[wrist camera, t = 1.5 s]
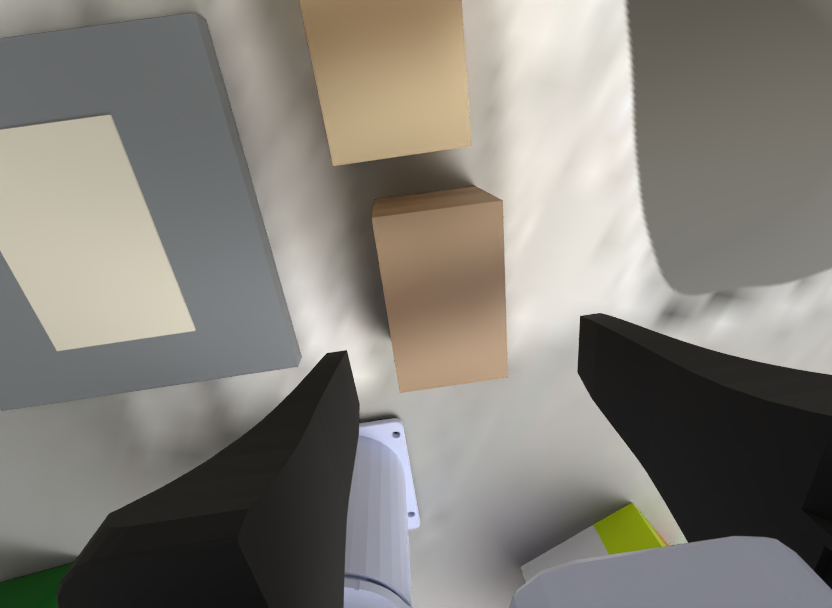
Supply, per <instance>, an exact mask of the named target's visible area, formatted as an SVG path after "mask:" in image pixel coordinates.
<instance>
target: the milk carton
mask: <svg viewBox="0 0 832 608" xmlns="http://www.w3.org/2000/svg"><path fill="white" fill-rule="evenodd" d="M72 564H73V563H71V564H67V565H63V566H60V567H56V568H52V569H49V570H45V571H42V572H38V573H34V574H31V575H27V576H23V577H20V578H16V579H12V580H9V581H5V582H2V583H0V608H58V603H57V596H56V592H57V589H58V587H59V584H60V581H61V579H62V578H63V577H64V575H65V574H66V572H67V571H68V570H69V568H70V567H71V566H72Z"/></svg>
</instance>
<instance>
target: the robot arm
mask: <svg viewBox="0 0 832 608" xmlns="http://www.w3.org/2000/svg"><path fill="white" fill-rule="evenodd" d="M578 374H579V376H580V378H581V380H582V381H583V383H584V385H585V387H586V389H587V391H588V392H589V394H590V396H591V398H592V399H593V401H594V402H595V403H596V405H597V406H598V407H599V409H600V410H601V411H602V413H603V414H604V415H605V417H606V418H607V419H608V421H609V422H610V423H611V425H612V426H613V427H614V429H615V430H616V431H617V433H618V434H619V435H620V436H621V438H622V439H623V440H624V442H625V443H626V444H627V446H628V447H629V448H630V450H631V451H632V452H633V453H634V455H635V456H636V457H637V459H638V460H639V462H640V463H641V465H642V466H643V467H644V469H645V470H646V472H647V473H648V475H649V477H650V478H651V480H652V482H653V483H654V485H655V486H656V488H657V490H658V491H659V493H660V495H661V496H662V498H663V500H664V501H665V503H666V505H667V506H668V508H669V510H670V512H671V513H672V515H673V517H674V519H675V520H676V522H677V524H678V526H679V527H680V529H681V531H682V532H683V534H684V536H685V538H686V540H687V541H688V543H685V544H678V545H671V546H665V547H658V548H652V549H645V550H638V551H632V552H625V553H619V554H612V555H605V556H599V557H592V558H586V559H579V560H573V561H570V562H567V563H564V564H561V565H558V566H555V567H551V568H548V569H545V570H542V571H540V572H539V573H538V574H536V575H535V576H534V577H533V578H531V579H530V580H529V581H527V582H526V583H525V584H524V585H522V586H521V587H520V588H518V589H517V591H516V592H515V594H514V596H513V598H512V601H511V604H510V606H509V608H832V375H828V374H822V373H815V372H809V371H803V370H797V369H792V368H787V367H781V366H776V365H771V364H766V363H761V362H756V361H752V360H748V359H744V358H740V357H736V356H732V355H728V354H724V353H720V352H716V351H713V350H709V349H706V348H703V347H699V346H696V345H693V344H690V343H687V342H683V341H680V340H678V339H675V338H672V337H669V336H666V335H663V334H660V333H657V332H655V331H652V330H649V329H646V328H644V327H641V326H638V325H635V324H633V323H630V322H627V321H624V320H621V319H618V318H616V317H612V316H609V315H606V314H601V313H598V314H591V315H584V316H580V332H579V353H578ZM395 431H396V432H399V433H397V434H394V433H393V432H395ZM419 525H420V517H419V511H418V506H417V500H416V495H415V489H414V483H413V478H412V472H411V467H410V461H409V455H408V450H407V444H406V439H405V433H404V427H403V423H402V421H401V420H400V419H397V418H392V419H385V420H379V421H372V422H366V423H359V400H358V396H357V392H356V387H355V383H354V379H353V375H352V370H351V366H350V362H349V357H348V353H347V350H345V351H339V352H332V353H327V354H326V355H325V356H324V357H323V358H322V359H321V360H320V361H319V362H318V364H317V365H316V366H315V367H314V368H313V369H312V370H311V372H310V373H309V374H308V375H307V376H306V377H305V378H304V379H303V380H302V381H301V383H300V384H299V385H298V386H297V387H296V388H295V389H294V390H293V391H292V392H291V393H290V394H289V395H288V396H287V397H286V398H285V399H284V400H283V401H282V402H281V403H280V404H279V405H278V406H277V407H276V408H275V409H274V410H273V411H272V412H271V413H270V414H268V415H267V416H266V417H265V418H264V419H263V420H262V421H260V422H259V423H258V424H257V425H256V426H254V427H253V428H252V429H251V430H249V431H248V432H247V433H246V434H244V435H243V436H242V437H240V438H239V439H238V440H236V441H235V442H233V443H232V444H230V445H229V446H228V447H226V448H225V449H223V450H222V451H220V452H219V453H218V454H216V455H215V456H213V457H212V458H210V459H209V460H207V461H206V462H204V463H203V464H201V465H199V466H198V467H196V468H194V469H193V470H191V471H190V472H188V473H186V474H184V475H183V476H181V477H179V478H177V479H176V480H174V481H172V482H171V483H169V484H167V485H165V486H163V487H161V488H160V489H158V490H156V491H154V492H152V493H150V494H148V495H146V496H144V497H142V498H140V499H138V500H136V501H134V502H132V503H130V504H128V505H126V506H124V507H122V508H120V509H118V510H116V511H114V512H112V513H110V514H109V515H108V516H107V517H106V519H105V520H104V521H103V523H102V524H101V526H100V527H99V528H98V530H97V531H96V532H95V534H94V535H93V537H92V538H91V539H90V541H89V542H88V544H87V545H86V546H85V548H84V549H83V550H82V552H81V553H80V555H79V556H78V557H77V559H76V560H75V561H74V563H73V564H72V566H71V567H70V568H69V570H68V571H67V572H66V574H65V575H64V577H63V578H62V579H61V581H60V584H59V587H58V589H57V592H56V596H57V603H58V608H413V603H412V587H411V570H410V553H409V536H408V530H410V529H415V528H417V527H419Z"/></svg>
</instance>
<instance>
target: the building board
mask: <svg viewBox="0 0 832 608" xmlns="http://www.w3.org/2000/svg"><path fill="white" fill-rule="evenodd" d="M300 360H301V353H300V350H299V346H298V343H297V339H296V336H295V332H294V329H293V325H292V322H291V318H290V314H289V311H288V307H287V304H286V300H285V297H284V293H283V290H282V286H281V283H280V279H279V276H278V272H277V269H276V265H275V262H274V258H273V254H272V251H271V247H270V244H269V240H268V237H267V233H266V230H265V226H264V223H263V219H262V216H261V212H260V209H259V205H258V202H257V198H256V195H255V191H254V187H253V184H252V180H251V177H250V173H249V170H248V166H247V163H246V159H245V156H244V152H243V149H242V145H241V142H240V138H239V135H238V131H237V127H236V124H235V120H234V117H233V113H232V110H231V106H230V103H229V99H228V96H227V92H226V89H225V85H224V82H223V78H222V75H221V71H220V67H219V64H218V60H217V57H216V53H215V50H214V46H213V43H212V39H211V36H210V32H209V29H208V25H207V22H206V19H204V18H203V17H201V16H200V15H198V14H197V13H195V12H193V13H186V14H178V15H171V16H164V17H156V18H149V19H141V20H134V21H126V22H119V23H111V24H104V25H96V26H89V27H81V28H74V29H67V30H59V31H52V32H44V33H37V34H29V35H22V36H14V37H7V38H0V409H1V411H5V410H11V409H18V408H25V407H31V406H38V405H45V404H51V403H58V402H65V401H72V400H78V399H85V398H92V397H98V396H105V395H112V394H118V393H125V392H132V391H138V390H145V389H152V388H158V387H165V386H172V385H178V384H185V383H192V382H198V381H205V380H212V379H218V378H225V377H232V376H238V375H245V374H252V373H259V372H265V371H272V370H279V369H285V368H292V367H298V365H299V363H300Z"/></svg>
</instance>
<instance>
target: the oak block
mask: <svg viewBox="0 0 832 608" xmlns="http://www.w3.org/2000/svg"><path fill="white" fill-rule="evenodd" d="M299 2H300V7H301V12H302V17H303V22H304V27H305V31H306V36H307V41H308V46H309V51H310V56H311V61H312V66H313V71H314V75H315V80H316V85H317V90H318V95H319V100H320V105H321V110H322V114H323V119H324V124H325V129H326V134H327V139H328V144H329V149H330V153H331V158H332V163H333V166H337V165H344V164H351V163H358V162H365V161H372V160H379V159H386V158H393V157H399V156H406V155H413V154H420V153H427V152H434V151H441V150H448V149H454V148H461V147H468V146H472V141H471V127H470V113H469V99H468V84H467V70H466V56H465V42H464V28H463V13H462V0H299Z"/></svg>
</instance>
